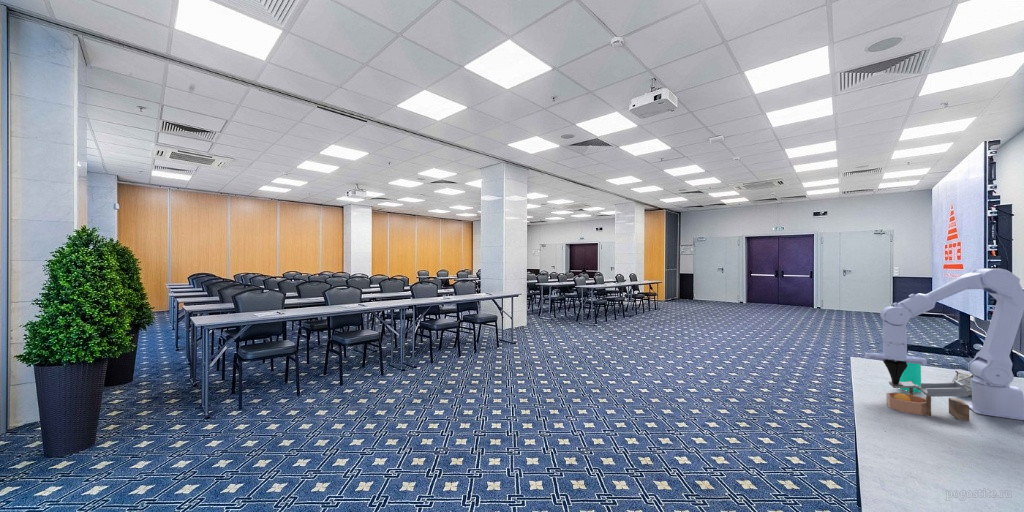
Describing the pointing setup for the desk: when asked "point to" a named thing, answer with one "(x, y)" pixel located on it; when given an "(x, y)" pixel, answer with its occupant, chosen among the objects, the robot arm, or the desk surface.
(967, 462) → the desk surface
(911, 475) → the desk surface
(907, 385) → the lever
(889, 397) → the bowl
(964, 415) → the lever stand
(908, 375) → the candle
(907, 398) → the ball
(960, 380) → the game die
